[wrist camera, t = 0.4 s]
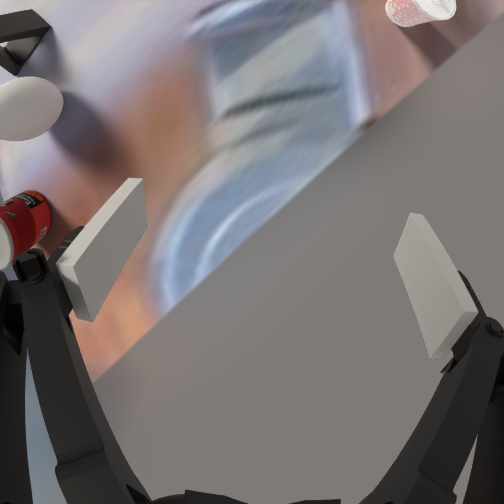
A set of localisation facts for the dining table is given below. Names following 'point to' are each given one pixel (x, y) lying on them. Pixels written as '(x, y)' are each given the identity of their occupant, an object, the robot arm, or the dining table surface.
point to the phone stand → (20, 38)
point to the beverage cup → (419, 11)
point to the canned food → (22, 224)
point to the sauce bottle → (28, 108)
